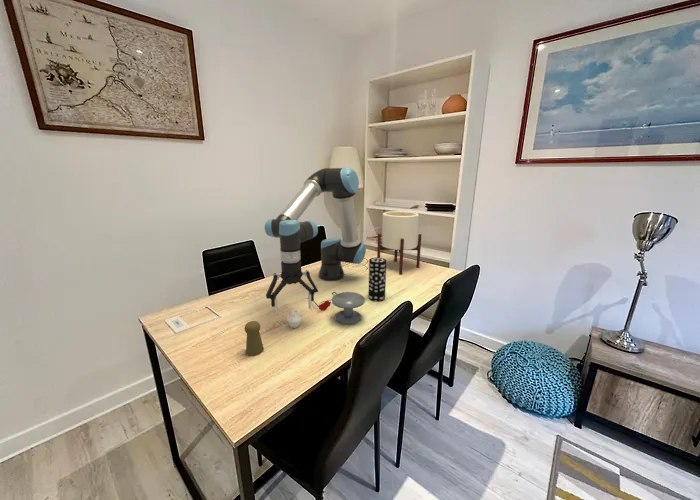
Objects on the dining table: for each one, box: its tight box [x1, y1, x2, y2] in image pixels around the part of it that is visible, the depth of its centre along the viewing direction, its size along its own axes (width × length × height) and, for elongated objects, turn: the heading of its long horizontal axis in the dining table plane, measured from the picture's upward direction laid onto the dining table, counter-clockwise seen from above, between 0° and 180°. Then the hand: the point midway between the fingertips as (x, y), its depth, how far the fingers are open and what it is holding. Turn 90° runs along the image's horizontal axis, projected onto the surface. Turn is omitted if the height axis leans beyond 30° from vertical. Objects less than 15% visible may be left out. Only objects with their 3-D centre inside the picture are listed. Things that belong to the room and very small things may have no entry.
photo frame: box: [164, 305, 223, 335], centre depth 122 cm, size 15×1×18 cm
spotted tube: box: [368, 257, 387, 303], centre depth 140 cm, size 8×8×20 cm
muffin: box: [286, 309, 303, 329], centre depth 116 cm, size 6×6×7 cm
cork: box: [244, 320, 265, 357], centre depth 99 cm, size 6×6×11 cm
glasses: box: [306, 291, 338, 312], centre depth 138 cm, size 14×16×5 cm
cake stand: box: [331, 291, 366, 325], centre depth 122 cm, size 14×14×9 cm
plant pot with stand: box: [376, 210, 422, 276], centre depth 183 cm, size 22×22×36 cm
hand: (293, 310), depth 115 cm, fingers open, 13 cm apart
